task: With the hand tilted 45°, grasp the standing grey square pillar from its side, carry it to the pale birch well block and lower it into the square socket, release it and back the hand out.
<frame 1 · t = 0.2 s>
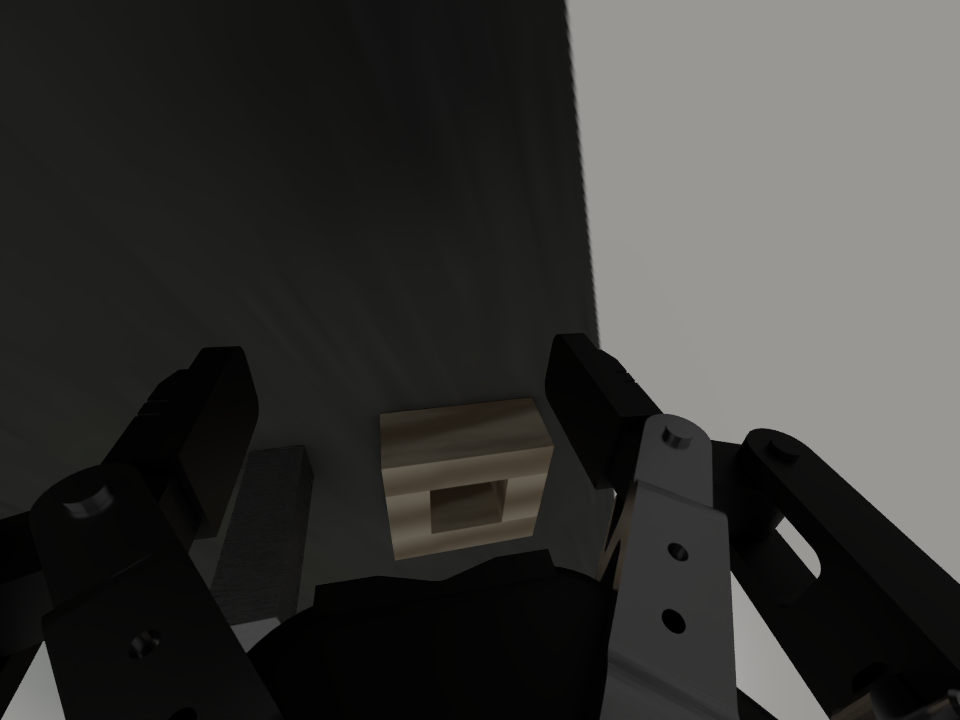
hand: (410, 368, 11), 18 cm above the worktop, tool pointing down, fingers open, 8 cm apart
grey square pillar: (283, 464, 37), on the worktop
well block: (457, 455, 41), on the worktop
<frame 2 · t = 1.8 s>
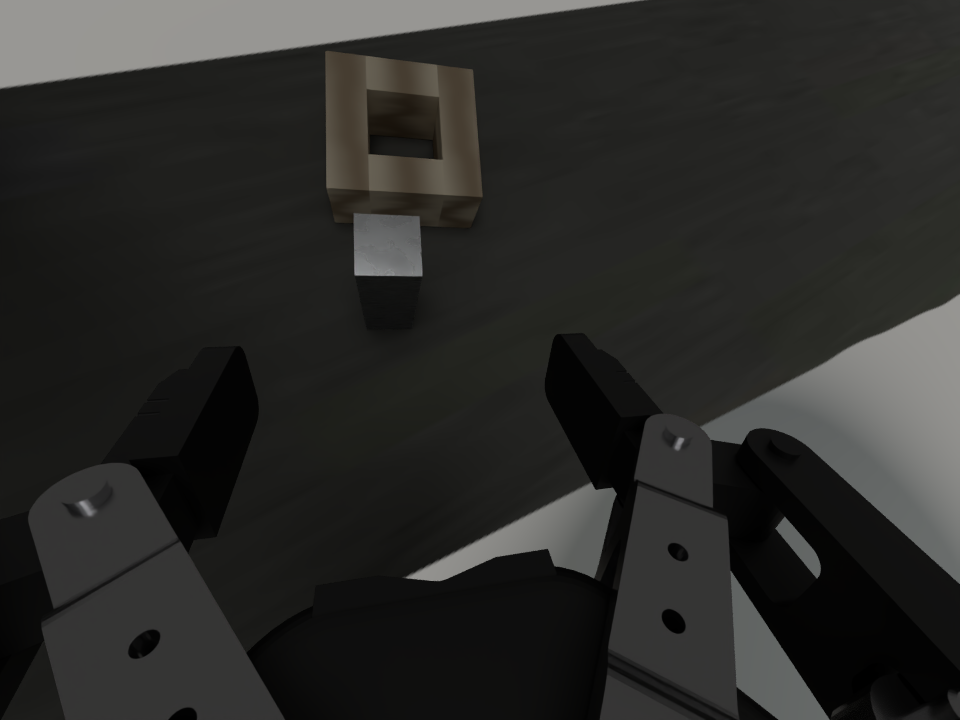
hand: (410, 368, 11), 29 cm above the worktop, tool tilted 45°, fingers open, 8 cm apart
grey square pillar: (388, 307, 41), on the worktop
well block: (402, 165, 44), on the worktop
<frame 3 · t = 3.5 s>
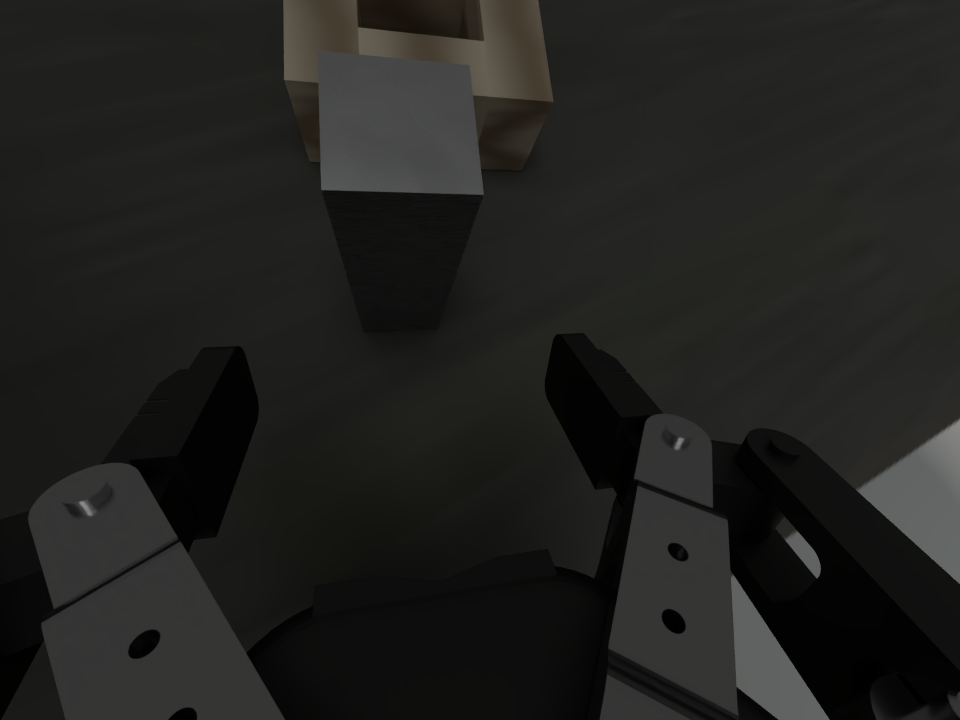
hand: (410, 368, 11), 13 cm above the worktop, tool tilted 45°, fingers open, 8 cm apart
grey square pillar: (398, 295, 25), on the worktop
well block: (414, 77, 28), on the worktop
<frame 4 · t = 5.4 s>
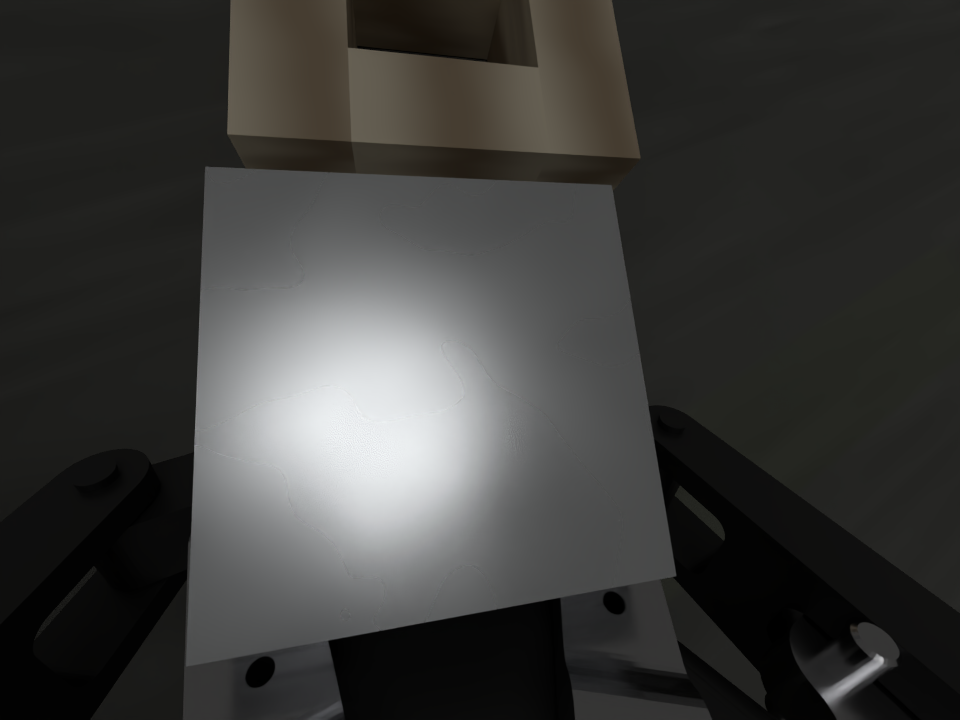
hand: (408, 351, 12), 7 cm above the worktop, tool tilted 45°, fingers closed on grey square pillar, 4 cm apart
grey square pillar: (407, 428, 18), on the worktop, touching gripper
well block: (428, 108, 21), on the worktop
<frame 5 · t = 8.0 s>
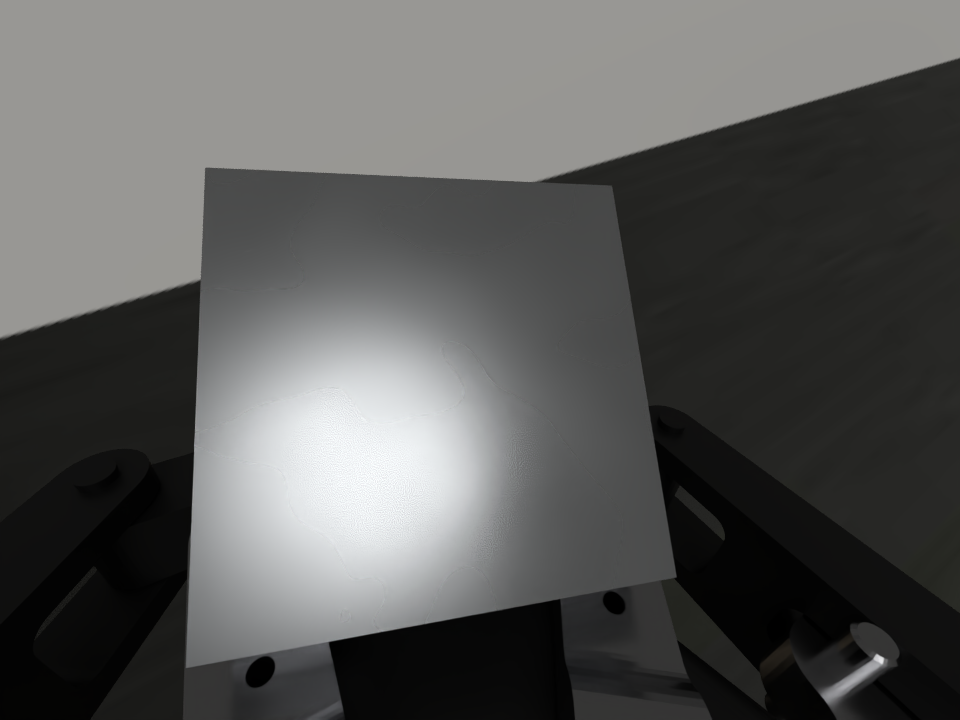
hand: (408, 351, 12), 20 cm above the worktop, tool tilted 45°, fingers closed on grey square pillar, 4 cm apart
grey square pillar: (407, 428, 18), point 13 cm above the worktop, touching gripper
when the fingers open (8 cm above the worktop, at t = 10.6 s): grey square pillar drops 1 cm, resting in well block.
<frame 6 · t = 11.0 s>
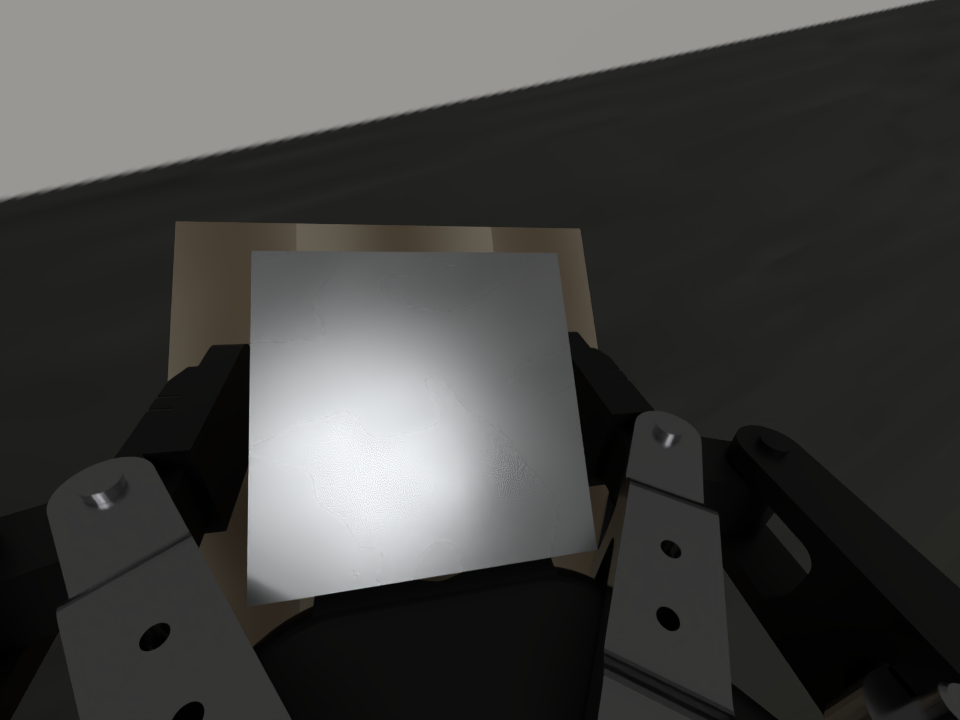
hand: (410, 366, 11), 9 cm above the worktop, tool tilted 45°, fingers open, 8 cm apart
grey square pillar: (403, 432, 19), resting in well block
well block: (405, 429, 19), on the worktop
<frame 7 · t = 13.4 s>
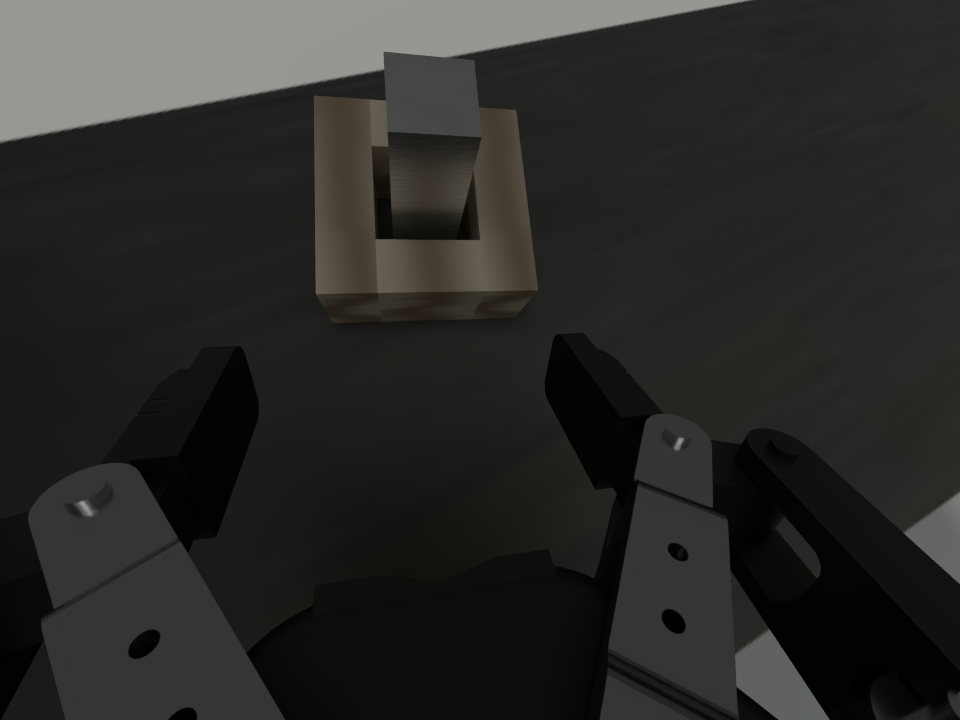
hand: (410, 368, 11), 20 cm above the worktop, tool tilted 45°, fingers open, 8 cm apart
grey square pillar: (420, 238, 33), resting in well block
well block: (422, 237, 33), on the worktop
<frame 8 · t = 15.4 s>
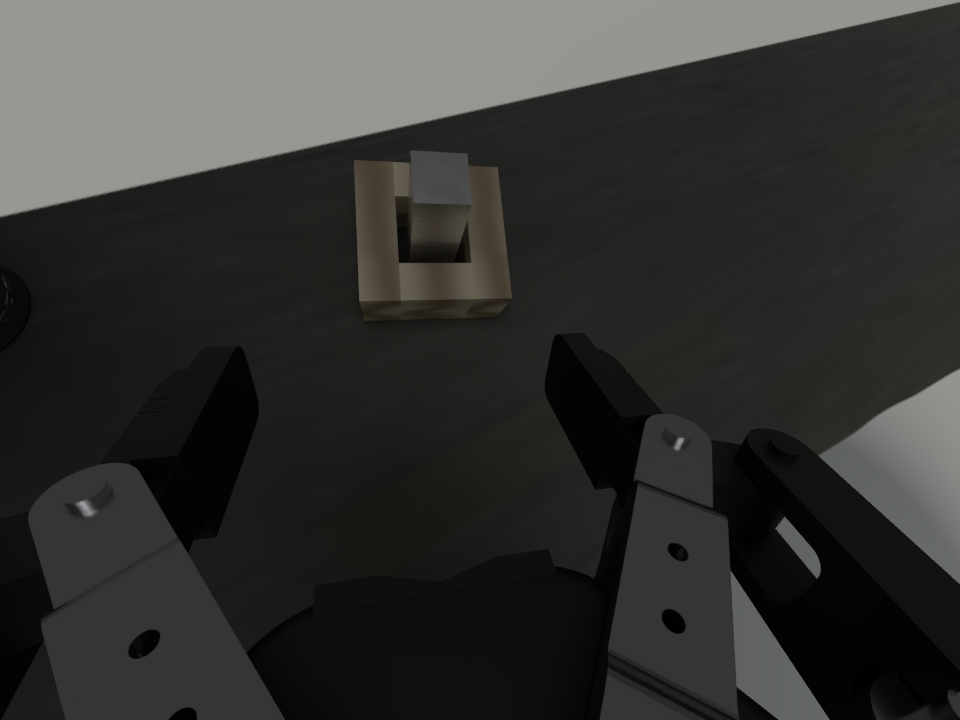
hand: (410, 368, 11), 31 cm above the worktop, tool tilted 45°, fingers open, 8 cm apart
grey square pillar: (427, 258, 44), resting in well block
well block: (428, 257, 44), on the worktop
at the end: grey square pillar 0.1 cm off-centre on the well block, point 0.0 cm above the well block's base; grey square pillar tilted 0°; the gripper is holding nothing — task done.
